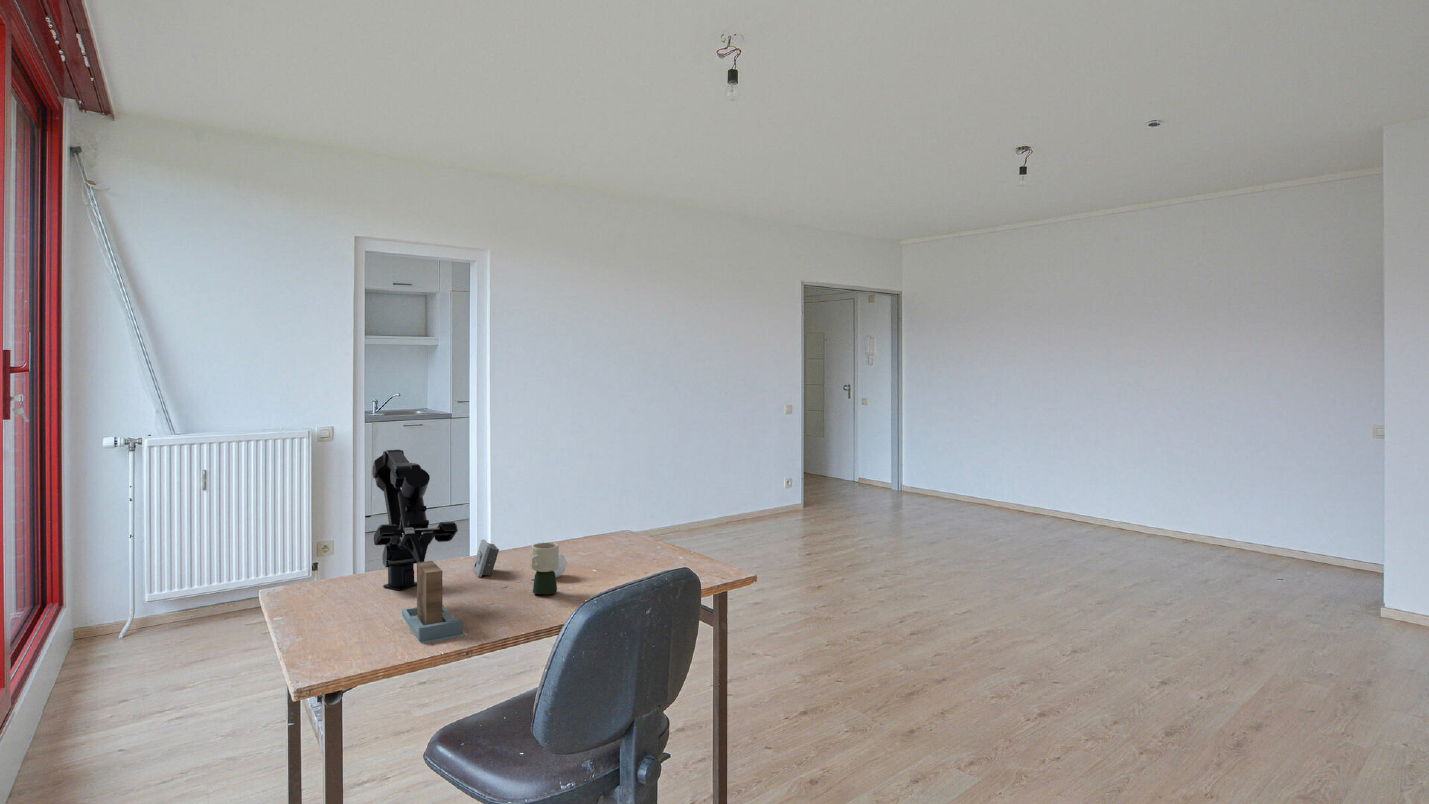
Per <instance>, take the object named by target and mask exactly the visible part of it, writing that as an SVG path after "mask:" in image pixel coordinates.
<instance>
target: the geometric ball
mask: <svg viewBox="0 0 1429 804" xmlns="http://www.w3.org/2000/svg"><path fill="white" fill-rule="evenodd" d="M567 564H568V563H567V559H566V557H565V555H564V554H563V553H561V552H559V566H558V569H556V570H554V572H555V576H556V579H558V578H559V577H561V575H562V574H564V573H565V571H566V567H567Z"/></svg>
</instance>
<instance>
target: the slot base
mask: <svg viewBox="0 0 1429 804" xmlns="http://www.w3.org/2000/svg"><path fill="white" fill-rule="evenodd" d="M401 616H402V617H403V619H404V621H405V622H406V624H407V626H408V627H409V628H410V629H411V630H410V631H412V633H413V635H414V636H415V637H416V639H417V640H418V642H419V643H420V644H421V645H422V644H428V643H433V642H438V641H445V640H449V639H455V638H459V637H460V638H461V637H464V634H463V631H464V630H463V628H464V626H463V623H464V621H463V620H462V619H461V618H459V619H455V618H454V616H453V615H452V614H451V613H450V611H448V609H447V608H446V607H445V606H444V604H442V622H441V623H435V624H429V625H423V624H422V623H421V621H420V620H419V619H418V617H417V606H414V607H409V608H403V609H401Z"/></svg>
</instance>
